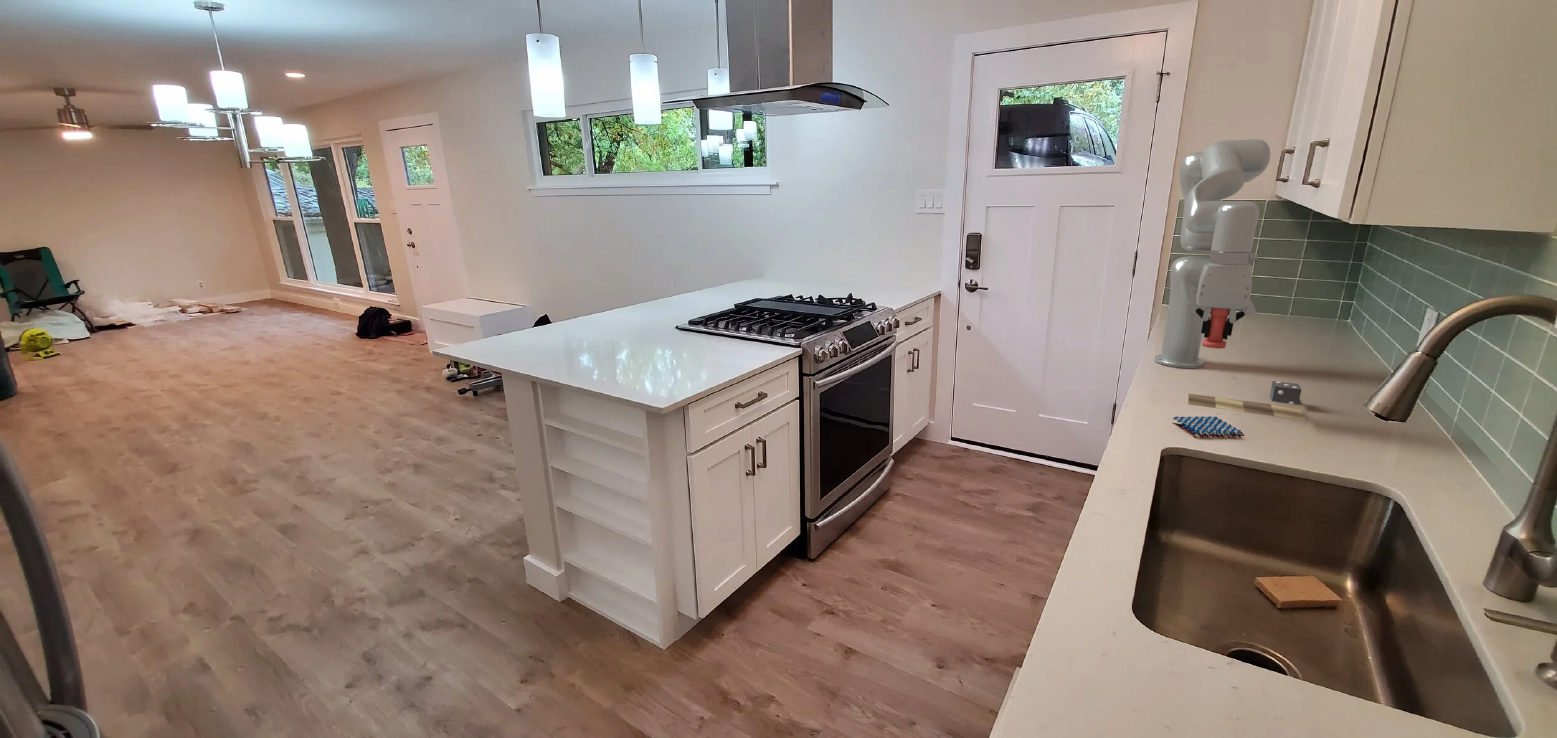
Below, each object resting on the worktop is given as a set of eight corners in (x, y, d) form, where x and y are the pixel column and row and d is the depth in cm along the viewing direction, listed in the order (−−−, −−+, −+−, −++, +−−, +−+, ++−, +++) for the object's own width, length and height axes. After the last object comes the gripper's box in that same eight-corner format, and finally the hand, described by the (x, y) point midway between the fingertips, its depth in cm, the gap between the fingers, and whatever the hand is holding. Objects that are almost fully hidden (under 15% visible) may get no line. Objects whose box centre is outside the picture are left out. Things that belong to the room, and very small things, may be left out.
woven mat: (1246, 441, 133) (1248, 432, 133) (1194, 441, 134) (1196, 432, 133) (1215, 423, 143) (1217, 414, 143) (1167, 423, 144) (1169, 415, 143)
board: (1187, 398, 158) (1188, 393, 158) (1298, 412, 147) (1300, 408, 147) (1187, 408, 151) (1188, 404, 151) (1304, 425, 140) (1305, 420, 139)
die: (1268, 400, 156) (1272, 380, 155) (1294, 403, 154) (1298, 383, 152) (1270, 406, 152) (1275, 386, 150) (1297, 409, 149) (1301, 389, 148)
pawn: (1202, 342, 152) (1209, 300, 149) (1225, 345, 150) (1233, 302, 147) (1202, 347, 148) (1209, 303, 145) (1225, 349, 146) (1233, 305, 143)
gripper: (1272, 258, 142) (1257, 338, 147) (1187, 255, 150) (1174, 330, 156) (1276, 262, 136) (1259, 345, 141) (1186, 259, 144) (1173, 337, 150)
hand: (1215, 336), depth 148 cm, fingers closed on pawn, 3 cm apart
